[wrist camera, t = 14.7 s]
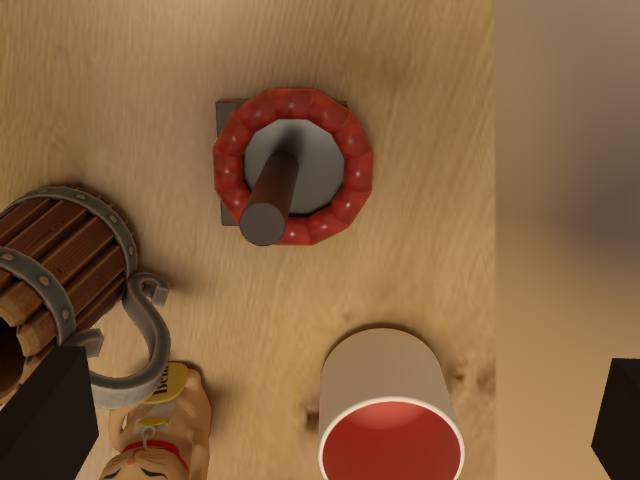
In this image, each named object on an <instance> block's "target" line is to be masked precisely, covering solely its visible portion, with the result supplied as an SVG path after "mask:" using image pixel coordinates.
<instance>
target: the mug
mask: <svg viewBox="0 0 640 480" xmlns="http://www.w3.org/2000/svg"><path fill="white" fill-rule="evenodd" d="M128 226H129V222H128V220H127V219H126V218H125V217H124V215H123V214H122V213H121V212H120V211H119V210H118V209H117V208H116V207H115V206H114V205H113V204H112V203H108V202H106V201H105V200H104V198H103V197H102V196H100V195H98V194H96V193H94V192H92V191H90V190H87V189H83V188H80V187H77V188H76V189H73V188H71V187H69V186H67V185H53V186H49V187H44V188H41V189H38V190H34V191H30V192H29V193H27V194H25V195H24V196H22V197H20V198H19V199H17V200H15V201H14V202H13V203H12V204H10V205H9V206H8V207H6V208H5V209H4V210H3V211H2V212H1V214H0V406H2V405H3V404H7V402H8V401H9V400H10V399H11V398H12V396H13V395H14V394H15V393H16V391H17V390H18V389H19V388H20V387H21V385H22V384H23V383H24V382H25V381H26V379H27V378H28V377H29V376H30V375H31V373H32V372H33V371H34V370H35V369H36V367H37V366H38V365H39V364H40V363H41V361H42V360H43V359H44V358H45V357H46V355H47V354H48V353H49V352H50V350H51V349H52V348H53V347H54V346H85V348H86V355H87V358H91V357H98V356H99V353H100V350H101V347H102V344H103V341H104V336H103V335H102V333H101V331H100V329H99V328H98V329H90V328H91V327H92V326H93V325H94V324H95V323H96V322H97V321H98V320H99V319H100V318H101V317H102V316H103V315H105V314H107V313H108V312H109V311H110V310H111V309H112V308H113V307H114V306H115V305H116V304H117V303H118V302H119V301H120V300H121V299H122V305H123V307H124V309H125V311H126V312H127V314H128V315H129V317H130V318H131V319H132V321H133V322H134V323H135V325H136V326H137V327H138V329H139V330H140V331H141V333H142V335H143V336H144V338H145V340H146V342H147V345H148V348H149V364H148V365H147V366H146V367H145V368H144V369H143V370H142V371H140V372H138V373H136V374H134V375H131V376H127V377H123V378H112V377H106V376H103V375H100V374H97V373H95V372H93V371H91V370H89V374H90V380H91V387H92V393H93V399H94V406H95V408H101V409H107V410H109V409H122V408H126V407H130V406H133V405H135V404H138V403H140V402H142V401H143V400H145V399H146V398H148V397H149V396H150V395H151V394H152V393H153V392H154V391H155V389H156V388H157V386H158V384H159V382H160V380H161V377H162V375H163V372H164V370H165V367H166V365H167V362H168V359H169V353H170V347H171V338H170V333H169V330H168V328H167V325H166V324H165V322H164V320H163V318H162V317H161V315H160V314H159V312H158V311H157V310H156V309H155V307H154V306H153V305H152V304H155V305H158V306H161V307H163V306H164V303H165V301H166V298H167V295H168V293H169V290H170V285H169V283H168V282H167V281H166V280H165V279H163V278H162V277H160V276H158V275H155V274H152V273H146V272H140V273H137V271H138V267H139V262H138V260H137V256H138V255H139V247H138V242H137V239H136V236H135V233H134V231H133V230H132V229H131V228H130V227H128ZM146 296H148V297H150V298H151V299H152V300H151V302H150V301H149V300H148V299H147V298H146ZM151 303H152V304H151Z"/></svg>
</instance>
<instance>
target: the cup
mask: <svg viewBox="0 0 640 480" xmlns="http://www.w3.org/2000/svg"><path fill="white" fill-rule="evenodd" d="M464 457H465V448H464V442H463V439H462V435H461V432H460V429H459V425H458V422H457V419H456V416H455V413H454V409H453V406H452V403H451V400H450V396H449V393H448V390H447V387H446V383H445V380H444V377H443V374H442V370H441V367H440V364H439V362H438V360H437V358H436V356H435V355H434V353H433V352H432V351H431V350H430V348H429V347H428V346H427V345H426V344H425V343H423V342H422V341H421V340H419V339H418V338H416V337H415V336H413V335H411V334H408V333H406V332H403V331H400V330H395V329H389V328H376V329H369V330H365V331H361V332H358V333H356V334H354V335H352V336H350V337H348V338H346V339H345V340H343V341H342V342H341V343H340V344H339V345H338V346H337V347H336V348H334V349H333V351H332V352H331V353H330V355H329V356H328V358H327V360H326V362H325V364H324V367H323V370H322V374H321V383H320V412H319V440H318V462H319V467H320V470H321V473H322V475H323V478H324V479H325V480H457V478H458V477H459V474H460V472H461V470H462V467H463V463H464Z"/></svg>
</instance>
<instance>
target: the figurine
mask: <svg viewBox="0 0 640 480" xmlns="http://www.w3.org/2000/svg"><path fill="white" fill-rule="evenodd" d="M127 414H128V415H127ZM126 415H127V425H126V426H125V428H124V430H123V429H122V424H123V421H124V418H125V416H126ZM211 415H212V412H211V406H210V403H209V400H208V398H207V396H206V394H205V391H204V389H203V387H202V384H201V376H200V374H199V373H198V372H197V371H196V370H193V369H188V368H187V367H186V366H185V365H184V364H182V363H176V362H167V365H166V367H165V370H164V372H163V375H162V377H161V380H160V382H159V384H158V386H157V388H156V389H155V391H154V392H153V393H152V394H151V395H150V396H149V397H148V398H146V399H145V400H143V401H142V402H140V403H138V404H135V405H133V406H130V407H126V408H122V409H110V415H109V427H108V430H109V441H110V443H111V445H112V447H113V448H114V449H115V450H117V451H118V452H120V453H121V454H119V455H117V456H115V457H114V458H112V459H111V460H110V461H109V462H108V463H107V465H106V466H105V468H104V470H103V472H102V474H101V476H100V478H99V480H206V479H207V472H208V465H209V458H210V453H209V441H208V438H209V434H210V427H211Z"/></svg>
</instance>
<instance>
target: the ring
mask: <svg viewBox="0 0 640 480" xmlns="http://www.w3.org/2000/svg"><path fill="white" fill-rule="evenodd" d="M278 119H297V120H308V121H310V122H312V123H313V124H315V125H317V126H318V127H320V128H322V129H323V130H325V131H327V132H328V133H330V134H331V135H332V137H333V139H334V141H335V142H336V144H337V146H338V148H339V150H340V151H341V153H342V155H343V157H344V179H343V185H342V187H341V189H340V190H339V192H338V193H337V195H336V196H335V198H334V200H333V201H332V203H331V204H330V206H328V207H326V208H324V209H322V210H320V211H319V212H317V213H315V214H313V215H311V216H309V217H307V218H295V217H288V220H287V224H286V229H285V232H284V234H283V236H282V238H281V239H280V240H279V241H278V242H276V243H274V244H273V245H305V246H311V245H315V244H317V243H319V242H321V241H323V240H325V239H327V238H329V237H331V236H333V235H335V234H337V233H339V232H341V231H343V230H345V229H347V228H348V227H349V226H350V225H351V224H352V222H353V221H354V219H355V218H356V216H357V215H358V213H359V212H360V210H361V208H362V207H363V205H364V204H365V202H366V201H367V199H368V198H369V196H370V195H371V192H372V177H373V156H374V153H373V149H372V146H371V145H370V143H369V141H368V139H367V137H366V135H365V133H364V131H363V129H362V128H361V126H360V124H359V122H358V120H357V118H356V116H355V115H354V113H353V112H352V111H350V110H349V109H347V108H346V107H344V106H343V105H341V104H339V103H338V102H336V101H334V100H333V99H331V98H329V97H328V96H326V95H325V94H323V93H321V92H320V91H318V90H316V89H300V88H271V89H268V90H266V91H265V92H263V93H261V94H259V95H258V96H256V97H254V98H253V99H251V100H249V101H247V102H246V103H244V104H242V105H241V106H239V107H237V108H236V109H234V110H233V111H232V112H231V114H230V116H229V118H228V120H227V121H226V123H225V125H224V127H223V129H222V131H221V133H220V135H219V137H218V138H217V140H216V142H215V144H214V146H213V170H214V187H215V191H216V193H217V195H218V196H219V198H220V199H221V201H222V202H223V204H224V206H225V207H226V209H227V210H228V212H229V213H230V215H231V216H232V218H233V220H234V221H235V223H236V224H237V225H238V226H239V219H240V216H241V213H242V211H243V209H244V207H245V205H246V203H247V201H248V199H249V196H250V192H249V190H248V189H247V187H246V186H245V184H244V182H243V164H242V155H243V153H244V152H245V150H246V148H247V146H248V144H249V143H250V141H251V139H252V137H253V135H254V134H255V132H257V131H259V130H261V129H262V128H264V127H266V126H268V125H269V124H271V123H273V122H275V121H276V120H278Z"/></svg>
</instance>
